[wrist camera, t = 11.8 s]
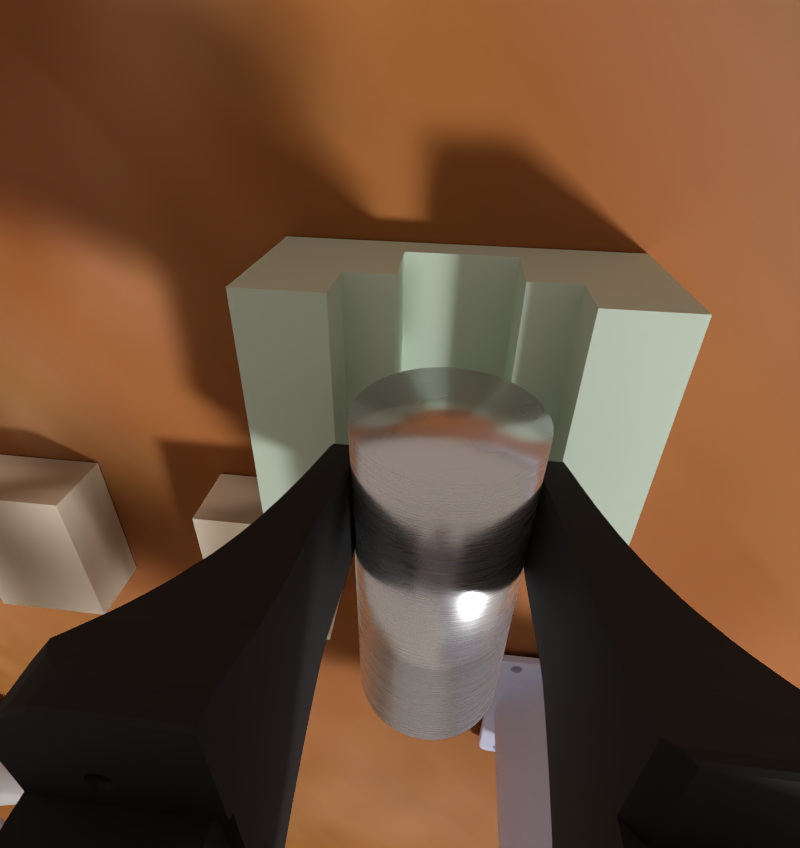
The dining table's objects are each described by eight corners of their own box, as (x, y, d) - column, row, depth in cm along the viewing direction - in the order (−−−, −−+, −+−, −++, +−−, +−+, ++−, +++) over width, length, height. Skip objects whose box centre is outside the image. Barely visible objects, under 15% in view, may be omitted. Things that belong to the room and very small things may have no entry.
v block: (648, 253, 14) (712, 314, 10) (585, 483, 19) (614, 584, 15) (286, 236, 15) (226, 287, 11) (308, 460, 19) (269, 550, 16)
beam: (335, 483, 20) (320, 530, 18) (342, 589, 23) (329, 639, 21) (-9, 453, 21) (-62, 494, 19) (43, 558, 24) (3, 603, 22)
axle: (533, 369, 12) (576, 488, 9) (489, 611, 17) (505, 743, 14) (358, 364, 12) (334, 480, 9) (367, 607, 17) (354, 736, 14)
